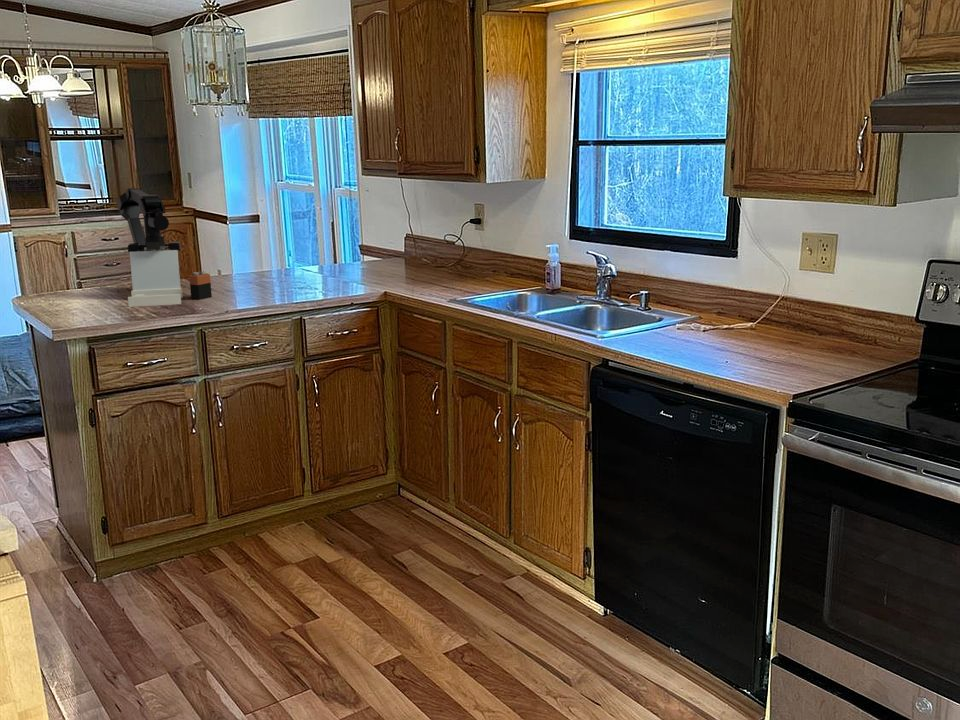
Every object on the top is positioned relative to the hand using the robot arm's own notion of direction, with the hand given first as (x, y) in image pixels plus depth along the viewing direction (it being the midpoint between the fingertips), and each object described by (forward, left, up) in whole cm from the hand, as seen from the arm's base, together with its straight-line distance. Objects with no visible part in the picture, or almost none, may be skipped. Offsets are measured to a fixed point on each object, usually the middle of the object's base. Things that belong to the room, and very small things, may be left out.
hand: (156, 269), depth 333 cm
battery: (+12, +16, -10) cm, 22 cm away
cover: (+7, 0, +1) cm, 7 cm away
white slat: (+15, 0, -10) cm, 18 cm away
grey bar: (+16, 0, -10) cm, 19 cm away
